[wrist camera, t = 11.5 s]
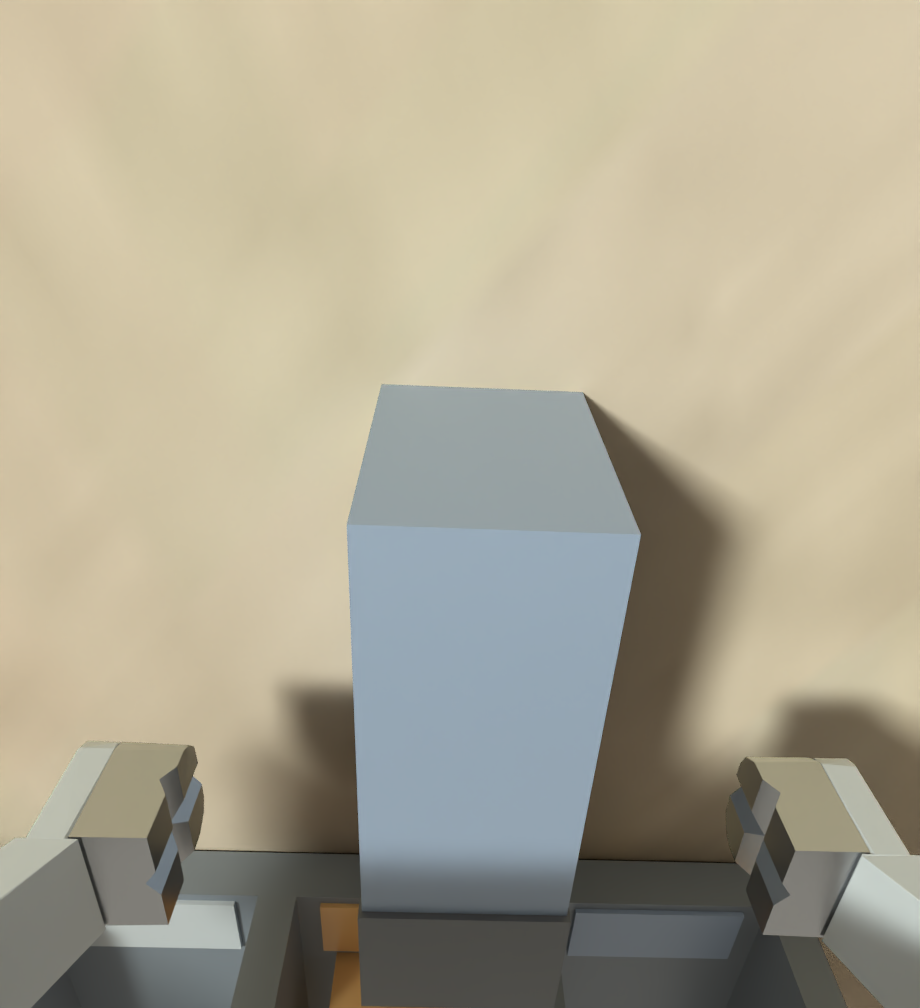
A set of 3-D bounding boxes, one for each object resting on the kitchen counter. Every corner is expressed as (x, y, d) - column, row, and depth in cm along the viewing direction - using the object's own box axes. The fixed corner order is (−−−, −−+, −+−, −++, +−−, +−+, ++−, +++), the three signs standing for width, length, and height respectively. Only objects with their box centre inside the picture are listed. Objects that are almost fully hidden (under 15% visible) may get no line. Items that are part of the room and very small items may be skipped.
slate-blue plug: (378, 384, 11) (340, 529, 7) (585, 392, 11) (648, 539, 7) (383, 792, 15) (361, 1006, 12) (531, 796, 15) (553, 1009, 12)
